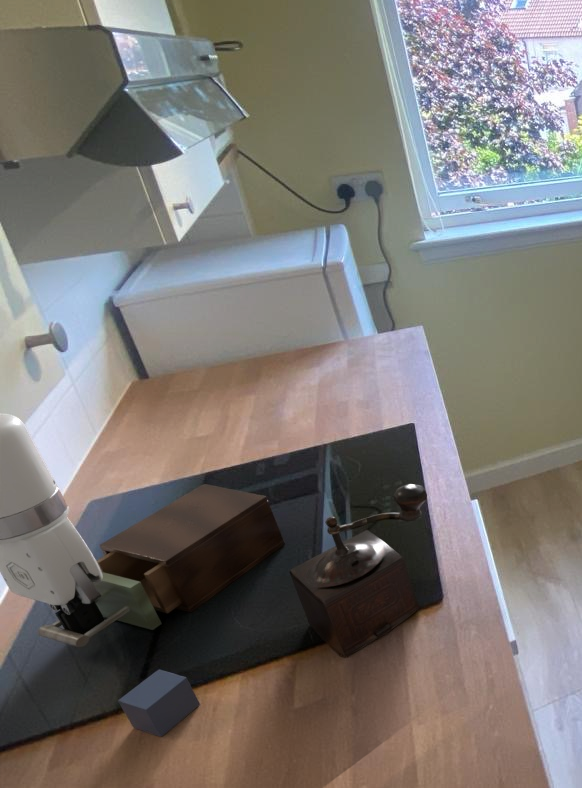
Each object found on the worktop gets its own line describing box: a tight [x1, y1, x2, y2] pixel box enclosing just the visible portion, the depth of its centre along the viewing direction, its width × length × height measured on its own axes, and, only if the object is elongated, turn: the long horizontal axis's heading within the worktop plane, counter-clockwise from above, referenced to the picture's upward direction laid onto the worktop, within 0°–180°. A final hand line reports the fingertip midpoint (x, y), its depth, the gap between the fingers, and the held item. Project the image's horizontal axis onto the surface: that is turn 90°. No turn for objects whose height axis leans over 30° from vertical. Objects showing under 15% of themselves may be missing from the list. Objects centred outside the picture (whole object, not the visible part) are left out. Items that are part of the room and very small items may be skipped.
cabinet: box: [99, 483, 286, 614], centre depth 107 cm, size 15×13×9 cm
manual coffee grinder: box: [289, 483, 428, 658], centre depth 97 cm, size 16×11×18 cm
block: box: [117, 669, 201, 738], centre depth 85 cm, size 4×4×4 cm
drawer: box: [37, 552, 182, 648], centre depth 100 cm, size 20×11×7 cm, turn 164°
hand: (87, 628), depth 95 cm, fingers closed
